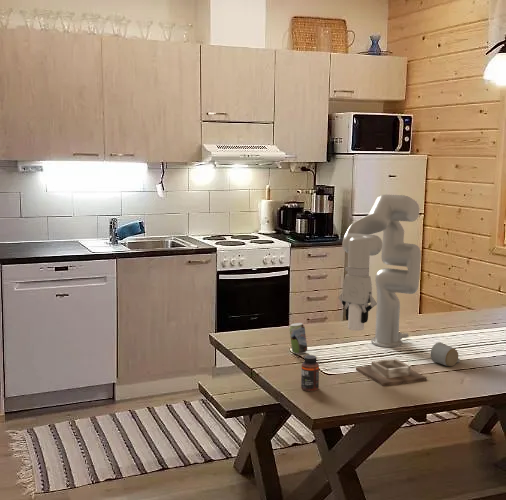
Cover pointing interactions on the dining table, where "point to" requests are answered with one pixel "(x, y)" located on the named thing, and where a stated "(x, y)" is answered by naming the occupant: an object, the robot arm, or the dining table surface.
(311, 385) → the supplement bottle
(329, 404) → the dining table surface
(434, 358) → the ceramic mug
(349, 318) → the roll
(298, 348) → the beverage can
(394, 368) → the stand
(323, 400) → the dining table surface
